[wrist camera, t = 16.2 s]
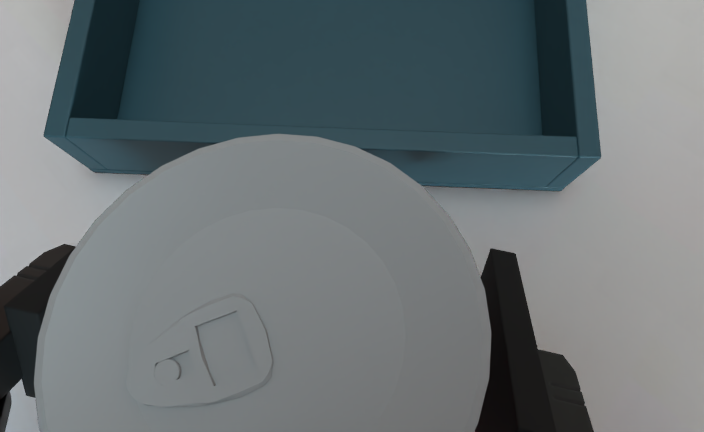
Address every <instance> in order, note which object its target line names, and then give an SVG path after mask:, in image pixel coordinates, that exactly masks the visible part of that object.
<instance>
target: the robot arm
mask: <svg viewBox="0 0 704 432" xmlns="http://www.w3.org/2000/svg"><path fill="white" fill-rule="evenodd" d="M74 249H75V246H71V245H66V244H63V245H61V246H59V247H56V248H54V249H51V250H49V251H47V252H44V253H43V254H42V255H40V256H39V257H38V258H37V259H35V260H34V261H33V262H31V263H30V265H29V267H28V266H26V267H25V268H24V269H22V270H21V271H20V272H18V274H17V276H13V277H12V278H11V279H9V280H8V281H7V282H6V283H4V284H3V285H2V286H0V432H5V429H6V425H7V421H8V416H9V412H10V408H11V394H10V390H11V389H12V388H13V387H14V386H15V385H16V384H17V383H18V382H19V381H20V380H21V379H22V381H23V385H24V389H25V393H26V396H30V397H34V398H36V397H35V389H34V376H35V364H36V353H37V342H38V336H39V332H40V329H41V325H42V322H43V318H44V315H45V311H46V308H47V304H48V300H49V297H50V294H51V292H52V290H53V288H54V286H55V284H56V282H57V280H58V278H59V276H60V274H61V272H62V270H63V268H64V266H65V264H66V262H67V260H68V258H69V256H70V254H71V253H72V251H73V250H74ZM481 280H482V283H483V286H484V289H485V293H486V300H487V307H488V313H489V320H490V326H491V352H490V374H489V381H488V385H487V389H486V393H485V397H484V401H483V405H482V409H481V413H480V417H479V421H478V424H477V426H476V429H475V432H594V431H593V428H592V425H591V421H590V418H589V415H588V412H587V408H586V406H584V404H585V402H584V399H583V395H582V392H580V386H579V382H578V379H577V376H576V373H575V371H574V369H573V368H572V367H571V365H570V364H569V363H568V362H567V360H566V359H565V358H564V356H563V355H560V354H555V353H551V352H547V351H542V350H538V349H537V345H536V340H535V336H534V332H533V327H532V323H531V319H530V314H529V310H528V306H527V301H526V297H525V293H524V288H523V284H522V280H521V275H520V271H519V267H518V262H517V258H516V254H515V253H510V252H506V251H501V250H496V249H490V252H489V255H488V258H487V261H486V264H485V267H484V270H483V273H482V275H481Z"/></svg>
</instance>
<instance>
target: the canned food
mask: <svg viewBox="0 0 704 432" xmlns="http://www.w3.org/2000/svg"><path fill="white" fill-rule="evenodd" d="M490 352H491V326H490V320H489V313H488V307H487V300H486V293H485V289H484V286H483V283H482V280H481V278H480V275H479V272H478V269H477V267H476V264H475V261H474V258H473V256H472V253H471V250H470V249H469V247H468V245H467V244H466V242H465V240H464V239H463V237H462V235H461V234H460V232H459V231H458V229H457V227H456V226H455V224H454V222H453V221H452V219H451V217H450V216H449V215H448V214H447V212H446V211H445V210H444V209H443V208H442V207H441V206H440V205H439V204H438V203H437V202H436V201H435V199H434V198H433V197H432V196H431V195H430V194H429V193H428V192H427V191H426V190H425V189H424V188H423V187H422V186H421V185H420V184H418V183H417V182H416V181H414V180H413V179H412V178H410V177H409V176H407V175H406V174H405V173H403V172H402V171H401V170H399V169H398V168H396V167H395V166H394V165H392V164H391V163H389V162H387V161H385V160H383V159H381V158H378V157H376V156H374V155H372V154H370V153H368V152H366V151H364V150H361V149H359V148H357V147H355V146H351V145H347V144H343V143H340V142H336V141H332V140H328V139H324V138H320V137H315V136H301V135H288V134H270V135H261V136H251V137H241V138H235V139H232V140H228V141H224V142H221V143H217V144H214V145H210V146H206V147H203V148H199V149H197V150H195V151H193V152H190V153H188V154H186V155H184V156H182V157H180V158H178V159H175V160H173V161H171V162H169V163H167V164H165V165H163V166H161V167H159V168H158V169H156V170H155V171H153V172H152V173H151V174H149V175H148V176H146V177H145V178H143V179H142V180H140V181H139V182H137V183H136V184H135V185H133V186H132V187H130V188H129V189H127V190H126V191H125V192H124V193H123V194H122V195H121V196H120V197H119V198H118V199H117V200H116V201H115V202H114V203H113V204H112V205H111V206H109V207H108V208H107V209H106V210H105V211H104V212H103V213H102V214H101V215H100V216H99V217H98V218H97V219H96V220H95V221H94V223H93V224H92V225H91V227H90V228H89V230H88V231H87V232H86V234H85V235H84V236H83V238H82V239H81V240H80V242H79V243H78V245H77V246H76V247H75V249H74V250H73V251H72V253H71V254H70V256H69V258H68V260H67V262H66V264H65V266H64V268H63V270H62V272H61V274H60V276H59V278H58V280H57V282H56V284H55V286H54V288H53V290H52V292H51V294H50V297H49V300H48V304H47V308H46V311H45V315H44V318H43V322H42V325H41V329H40V332H39V336H38V342H37V353H36V364H35V376H34V389H35V397H36V406H37V415H38V424H39V430H40V432H474V431H475V429H476V426H477V424H478V421H479V417H480V413H481V409H482V405H483V401H484V397H485V393H486V389H487V385H488V381H489V374H490Z"/></svg>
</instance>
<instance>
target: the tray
mask: <svg viewBox="0 0 704 432" xmlns="http://www.w3.org/2000/svg"><path fill="white" fill-rule="evenodd" d="M270 134H288V135H301V136H315V137H320V138H324V139H328V140H332V141H336V142H340V143H343V144H347V145H351V146H355V147H357V148H359V149H361V150H364V151H366V152H368V153H370V154H372V155H374V156H376V157H378V158H381V159H383V160H385V161H387V162H389V163H391V164H392V165H394V166H395V167H396V168H398V169H399V170H401V171H402V172H403V173H405V174H406V175H407V176H409V177H410V178H412V179H413V180H414V181H416V182H417V183H418V184H420V185H424V186H449V187H474V188H499V189H524V190H549V191H562V190H563V189H564V188H565V187H566V186H567V185H568V184H570V183H571V182H572V181H573V180H574V179H576V178H577V177H578V176H579V175H581V174H582V173H583V172H584V171H585V170H587V169H588V168H589V167H590V166H592V165H593V164H594V163H595V162H596V161H598V160H599V159H600V158H601V150H600V140H599V130H598V119H597V109H596V99H595V88H594V78H593V68H592V57H591V47H590V37H589V26H588V16H587V6H586V0H75V1H74V6H73V10H72V14H71V19H70V23H69V27H68V32H67V36H66V40H65V45H64V49H63V53H62V58H61V62H60V66H59V71H58V75H57V79H56V84H55V88H54V92H53V96H52V101H51V105H50V109H49V114H48V118H47V122H46V127H45V131H44V137H45V138H47V139H48V140H50V141H51V142H52V143H54V144H55V145H57V146H58V147H59V148H61V149H62V150H64V151H65V152H67V153H68V154H69V155H71V156H72V157H74V158H75V159H76V160H78V161H79V162H81V163H82V164H83V165H85V166H86V167H88V168H89V169H90V170H91V171H93V172H101V173H125V174H151V173H152V172H153V171H155V170H156V169H158V168H159V167H161V166H163V165H165V164H167V163H169V162H171V161H173V160H175V159H178V158H180V157H182V156H184V155H186V154H188V153H190V152H193V151H195V150H197V149H199V148H203V147H206V146H210V145H214V144H217V143H221V142H224V141H228V140H232V139H235V138H241V137H251V136H261V135H270Z"/></svg>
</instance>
